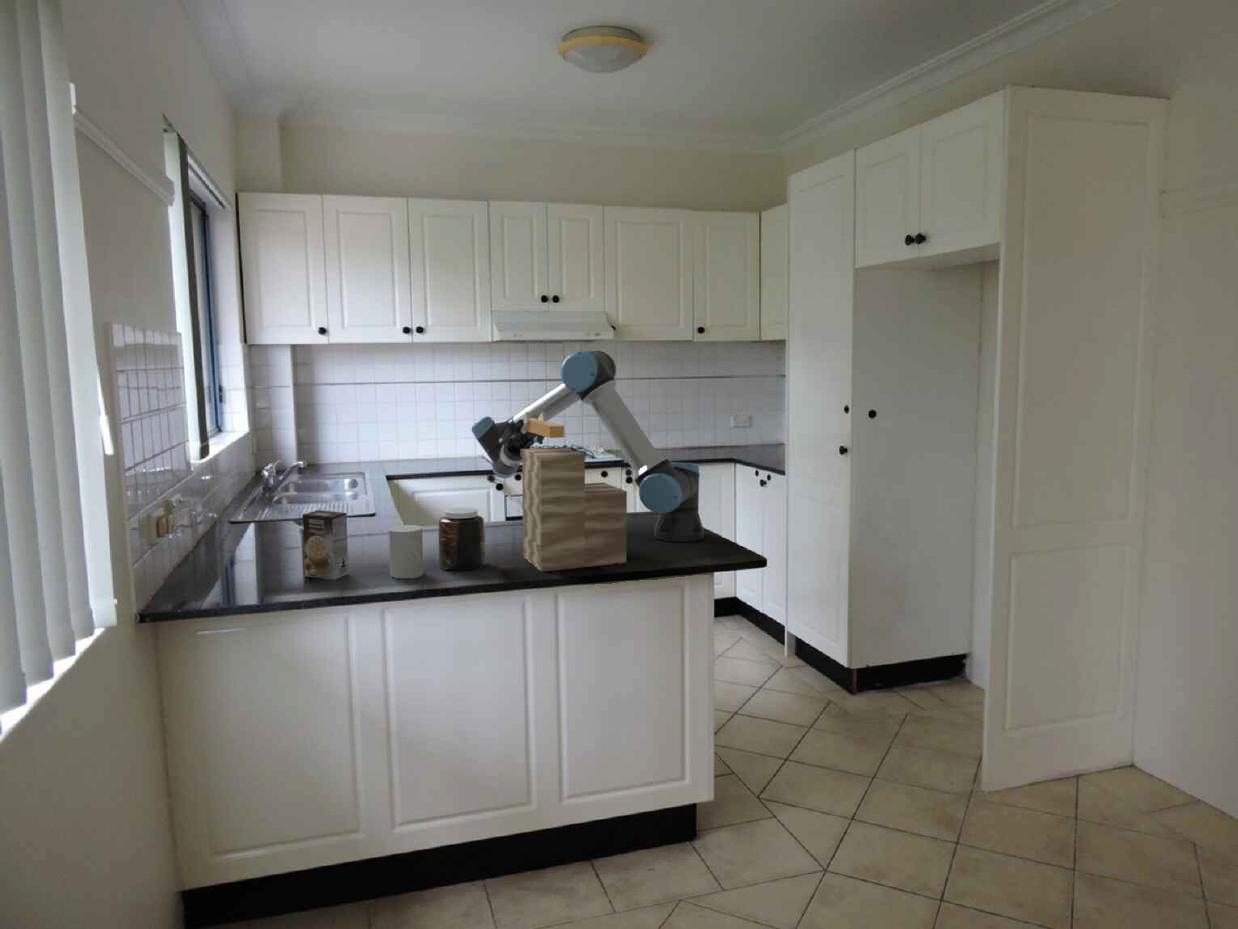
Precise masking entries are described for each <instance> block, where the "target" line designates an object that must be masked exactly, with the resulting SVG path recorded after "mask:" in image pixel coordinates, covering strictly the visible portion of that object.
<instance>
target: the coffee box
mask: <svg viewBox="0 0 1238 929" xmlns="http://www.w3.org/2000/svg"><path fill="white" fill-rule="evenodd" d="M347 516H348V514H347V512H341V511H340V512H339V511H331V510H322V509H316V510H314V511H310V512H307V513H303V514H302V536H303V557H304V559H303V560H304V576H305V577H307V578H308V577H309V578H315V579H316V578H317V579H324V580H332V581H334V580H337V579H340V578H342V577H345V576H347V575H349V554H348V553H349V550H348V521H347V520H348V519H347V518H348V517H347Z"/></svg>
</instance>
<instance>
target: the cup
mask: <svg viewBox="0 0 1238 929" xmlns="http://www.w3.org/2000/svg"><path fill="white" fill-rule="evenodd" d="M388 539H389V540H388V542H389V564H390V565H389V567H390V570H389V573H390V575H391V576H393V577H395V578H394V579H396V578H411V579H415V578H414V577H417V578H419V577H418V576H420V575H422V576H423V575H424V549H423V548H424V547H423V546H424V545H423V527H422V526H420V525H416V524H404V525H403V524H401V525H396V526H392V527H389V528H388ZM391 576H390V577H391ZM420 577H421V576H420Z"/></svg>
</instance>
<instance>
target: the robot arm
mask: <svg viewBox="0 0 1238 929" xmlns="http://www.w3.org/2000/svg"><path fill="white" fill-rule="evenodd" d="M616 373H617V366H616V363H615V360H614V359H613V358H612V356H611V355H609V354H608V353H606V352H605V351H602V350H579V351H575V352H572V353H570V354H569V355H568V356H566V357H565V359H564V360H563V361H562V364H561V369H560V379H561V381H562V382H560V383H559V384H558V385H557V386H555V387H553V388H552V389H551V390H549V391H548V392H546V393H545V394H543V395H542V396H541V397H539V398H538V399H536V400H535V401H533V402H532V403H530V404H529V405H528V406H525V408H523V409H522V410H520V411H519V412H517V413H516V414H514V415H513V416H512V417H510V418H509V419H507V420H505V421H502V422H501V421H500V422H495V420H494V419H493V418H492V417H490V416H484V417H482V418H480V419H478V420H477V421H476V422H475V423H473V425H472V426H471V428H470V430H471V432H472V434H473V435H474V437H475V439H476V440H477V442H478V443H479V444H480V447H481V448H482V449H483V450H484V451H485V453H486V454H487V455H488V458H489V459H490V461H491V462H492V464H491V465H492V466H491V467H492V471H493V474H494V475H496V477H498V478H501V479H509V478H511V477H512V476H513V475H514V474H515V473H516V472H517V471H518V469H519V467H520V465H522V457H521V449H531V447H532V446H533V445H535V443H536V444H539V445H542V444H544V442H543V441H544V439H545V438H546V437H545V436H542V435H538V434H535V433H532V432H528V431H525V428H526V426H527V425H528V423H529V422H530V419H529V418H535V419H539V420H543V421H547V422H549V421H550V420H552V419H553V418H555V417H556V416H557V415H559V414H561V413H562V412H565V410H567V409H568V408H570V407H571V406H572V405H574V404H576V403H577V402H579V401H581V403H582V404H585V405H589V406H590V407H591V408H592V409H593V411H594V412H595V414H596V415H597V417H598V419H599V420H600V421H601V424H602V425H603V427H605V429H606V430H607V432H608V433H609V435H610V437H611V438H612V440H613V441H614V443H615V444H616V447H618V449H619V450H620V452H621V453H622V455H623V457H624V458H625V459H626V461H627V463H628V464H629V465H630V467H631V468H632V470H633V471H634V478H633V481H634V482H635V484H636V485H637V487H638V489H639V490H638V496H639V500H640V502H641V503H642V505H643V506H644V507H645V508H646V509H647V510H649V511H651V512H653V513H656V514H659V515H658V518H657V519H656V520H657V521H656V523H655V526H654V529H653V530H654V531H653V533H654V537H655V539H658V540H662V541H665V542H675V543H680V542H681V543H684V542H685V543H686V542H687V543H689V542H696V541H701V540H703V539H704V537H705V532H704V526H703V523H702V519H701V517H700V513H699V504H700V503H699V501H700V500H699V497H700V496H699V494H700V490H699V489H700V476H701V474H700V466H699V465H698V464H696V463H692V462H691V463H690V462H672V461H670V460H669V459H668V458H667V457H664V456H660V454H659V453H658V452H657V450H656V448H655V447H654V445H653V444H652V442H651V441H650V439H649V438H648V437H647V435H646V434H645V432H644V431H643V429H642V427H641V426H640V425H639V423H638V421H637V420H636V419H635V417H634V416H633V414H632V413H631V411H630V409H629V408H628V407H627V405H626V404H625V402H624V400H623V399H622V397H621V396H620V394H619V392H618V391H617V390H616V384H617V381H616V379H615V378H616V375H617V374H616ZM520 418H522V420H520Z"/></svg>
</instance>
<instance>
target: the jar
mask: <svg viewBox="0 0 1238 929" xmlns="http://www.w3.org/2000/svg"><path fill="white" fill-rule="evenodd" d="M437 530H438V531H437V532H438V565H439V569H441V570H444V571H448V572H467V571H468V572H469V570H470V571H474V570H473V569H476V570H478V569H477V568H479V569H481V568H480V567H482V568H483V567H485V566H486V531H485V519H484V517H483V516H481V515H479V514H478V509H477V508H474V507H453V508H448V509H445V510H444V516H443V517H440V518H439V519H438V528H437ZM484 565H485V566H484Z"/></svg>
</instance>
